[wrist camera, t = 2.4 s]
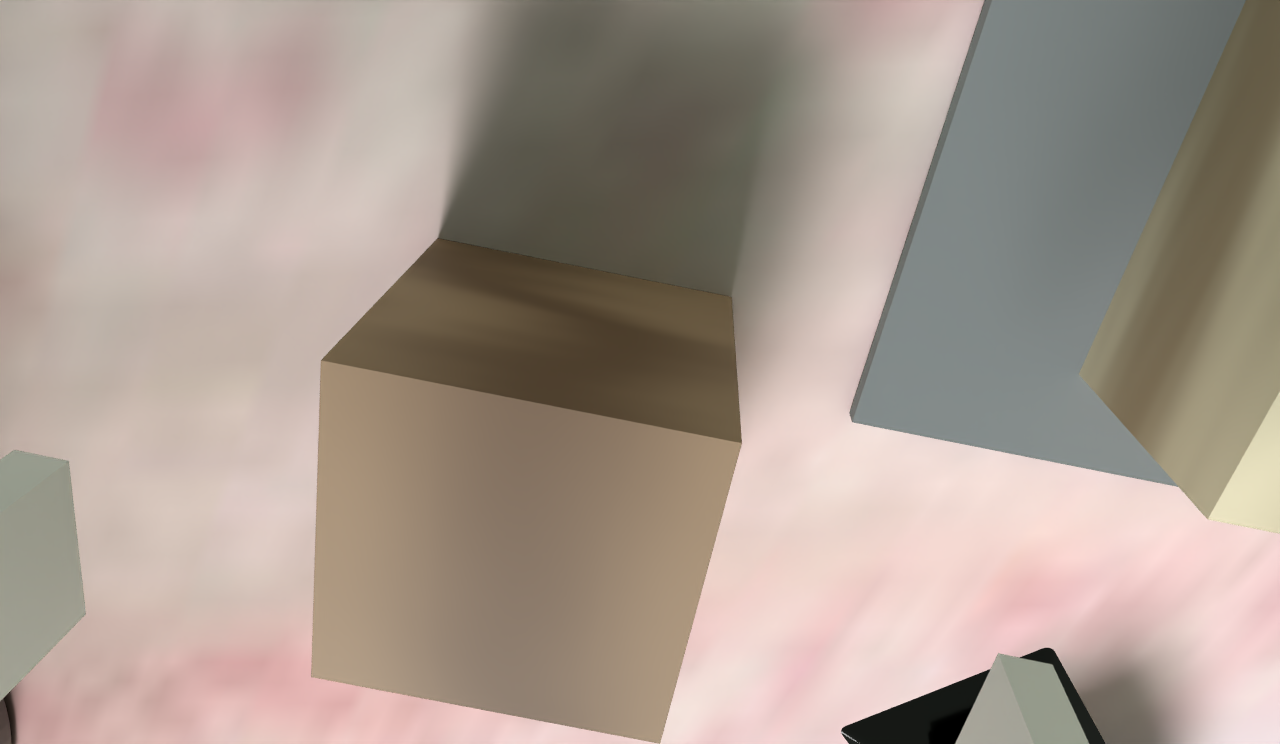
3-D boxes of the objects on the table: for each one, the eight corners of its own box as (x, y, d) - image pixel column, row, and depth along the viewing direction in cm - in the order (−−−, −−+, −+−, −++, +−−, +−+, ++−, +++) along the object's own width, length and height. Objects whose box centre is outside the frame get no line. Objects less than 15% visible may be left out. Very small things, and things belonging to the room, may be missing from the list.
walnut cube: (416, 484, 20) (311, 677, 15) (439, 237, 18) (321, 359, 12) (672, 534, 20) (660, 743, 15) (731, 295, 18) (742, 443, 12)
